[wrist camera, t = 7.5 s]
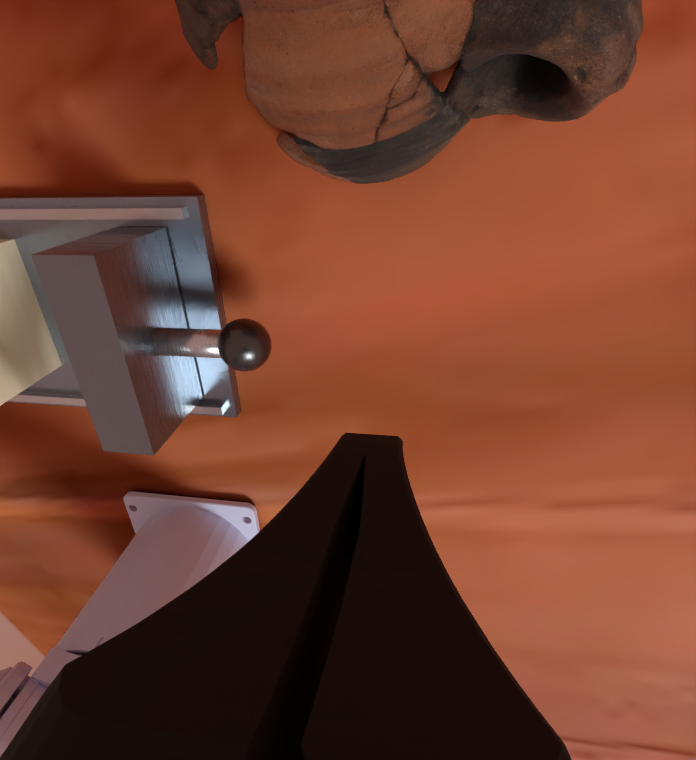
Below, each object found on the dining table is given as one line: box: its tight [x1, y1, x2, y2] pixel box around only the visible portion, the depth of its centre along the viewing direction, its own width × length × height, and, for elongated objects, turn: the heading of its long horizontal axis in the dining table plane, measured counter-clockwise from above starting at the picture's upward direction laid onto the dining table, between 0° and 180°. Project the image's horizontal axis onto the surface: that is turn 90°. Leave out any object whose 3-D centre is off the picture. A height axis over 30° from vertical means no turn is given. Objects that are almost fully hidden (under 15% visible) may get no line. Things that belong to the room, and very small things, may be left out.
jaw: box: [31, 227, 271, 455], centre depth 18 cm, size 8×7×4 cm
